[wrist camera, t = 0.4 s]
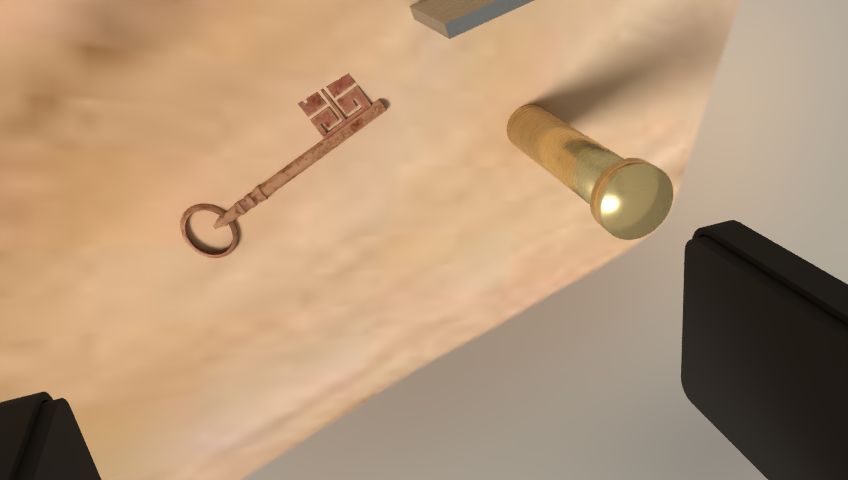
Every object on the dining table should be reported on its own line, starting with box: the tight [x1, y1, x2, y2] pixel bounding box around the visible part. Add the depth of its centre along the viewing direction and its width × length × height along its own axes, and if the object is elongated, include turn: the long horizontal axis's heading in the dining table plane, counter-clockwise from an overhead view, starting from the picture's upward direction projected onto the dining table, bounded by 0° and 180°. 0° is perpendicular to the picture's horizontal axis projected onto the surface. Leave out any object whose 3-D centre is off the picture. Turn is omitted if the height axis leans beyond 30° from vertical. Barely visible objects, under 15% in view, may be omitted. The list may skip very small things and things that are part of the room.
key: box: [180, 73, 386, 258], centre depth 45 cm, size 6×1×15 cm
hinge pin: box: [507, 105, 673, 240], centre depth 43 cm, size 4×4×14 cm
